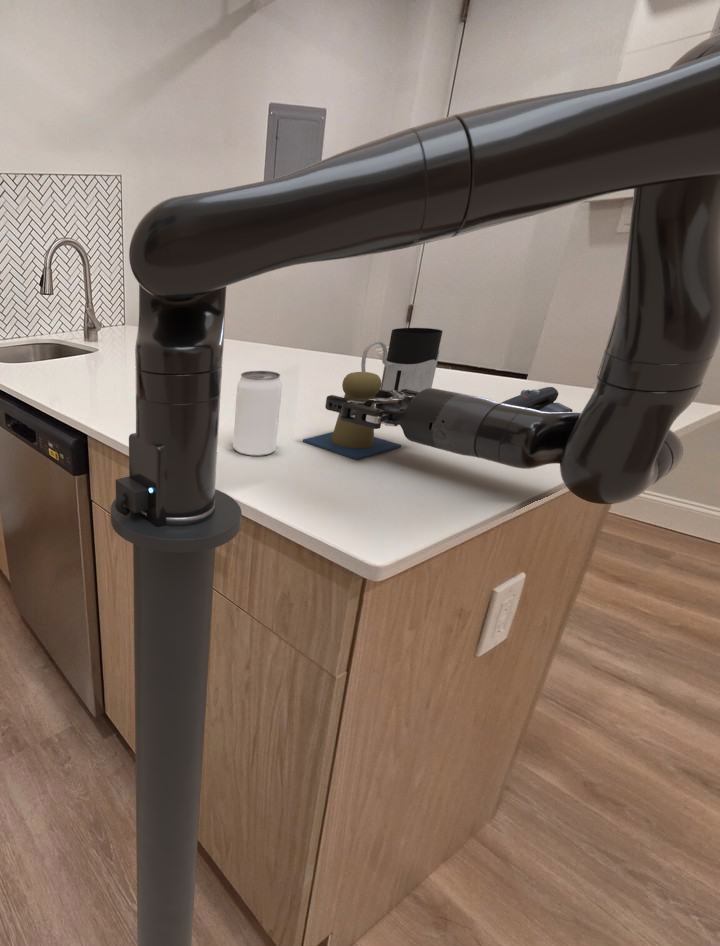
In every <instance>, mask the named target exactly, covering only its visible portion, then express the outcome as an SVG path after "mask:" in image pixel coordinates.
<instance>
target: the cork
mask: <svg viewBox="0 0 720 946" xmlns="http://www.w3.org/2000/svg"><path fill="white" fill-rule="evenodd" d="M381 382H382V378H380V375H378V374H377V373H373V372H368V371H366V372H362V371H355V372H350V373H347V374H346V375H345V377H343V380H342V383H341V384H342V385H341V387H342V391H343V393H344V396H343V398H348V399H354V400H366V399H367V398H368V397H373V398H375V395H376V394H377V393H378V392H379V390H380V388H381ZM362 406H363V405H362ZM375 406H376V404H375V403H373V404H372V405H371V408H375ZM355 412H356V411H355ZM340 416H341V413H338V416H337V419H336V422H335V426H334V429H333V431H332V432H333V435H332V439H331V442H332V443H334V444H336V445H338V446H342V447H346V448H356V449H361V448H369V447H371V446H373V444H374V437H375V429H373V428H370V427H366V426H362V425H358V424H354V423H350V422H347V421H343V420H340Z"/></svg>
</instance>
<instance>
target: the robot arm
mask: <svg viewBox="0 0 720 946" xmlns="http://www.w3.org/2000/svg"><path fill="white" fill-rule="evenodd" d="M628 190H633V197H632V205H631V212H630V223H629V231H628V240H627V247H626V255H625V261H624V262H625V263H624V269H623V276H622V283H621V287H620V292H619V298H618V303H617V307H616V311H615V314H614V318H613V322H612V325H611V329H610V332H609V335H608V339H607V342H606V345H605V348H604V352H603V356H602V359H601V361H600V365H599V369H598V372H597V375H596V379H595V383H594V384H595V385H594V387H593V391H592V393H591V395H590V398H589V399H588V401H587V402H586V405H585V406H584V408H583V409H582V411H581V412H580V411H572V412H544V411H539V410H535V409H531V408H525V407H520V406H515V405H509V404H504V403H501V402H499V401H496V400H493V399H490V398H487V397H482V396H477V395H471V394H466V393H462V392H461V393H460V392H456V391H450V390H444V389H439V388H433V387H432V388H428V389H425V390H422V391H421V392H417V391H412V390H408V389H402V390H401V391H396V390H390V391H386V390H381V389H380V390H379V392H378V393H377V394H376V395H375V398H373V397H368V398H367V399H366V400H354V399H348V398H344V396H339V395H334V394H330V395H327V396H326V399H325V405H324V406H325V409H326V410H327V411H330V412H335V413H338V414H339V413H341V416H340V420H343V421H347V422H350V423H354V424H358V425H362V426H366V427H370V428H373V429H374V430H379V429H381V426H382V425H384V426H387V427H398V426H400V428H401V429H402V433H403V435H404V436H405V438H406V439H407V440H408V441H410V442H413V443H416V444H420V445H424V446H427V447H431V448H434V449H438V450H441V451H446V452H449V453H452V454H456V455H460V456H465V457H471V458H477V459H482V460H485V461H489V462H494V463H497V464H500V465H504V466H508V467H512V468H516V469H523V470H531V469H537V468H539V467H543V466H547V465H555V464H556V465H559V472H560V477H561V480H562V482H563V484H564V485H565V487H566V488H567V490H568V491H570V492H571V493H572V494H573V495H575V496H576V497H578V498H579V499H581V500H583V501H586V502H589V503H593V504H598V505H614V504H620V503H624V502H627V501H630V500H632V499H635V498H637V497H639V496H641V494H643V493H645V492H646V491H647V490H648V489H650V488H651V487H652V486H653V485H655V484H656V483H658V482H659V481H661V480H662V479H663V478H665V477H666V476H667V475H668V474H670V473H671V472H672V471H674V469H676V467H677V466H678V465H679V464H680V462H681V460H682V458H683V456H684V447H683V442H682V441H681V439H680V437H679V436H678V435H677V434H676V432H674V431H672V430H671V427H672V425H673V424H674V423H675V421H676V420H677V419H678V418H679V416H680V415H681V414H683V412H685V411H686V410H687V409H688V408H689V406H691V404H692V403H693V402H694V400H695V398H696V397H697V395H698V394H699V391H700V390H701V388H702V385H703V383H704V381H705V378H706V376H707V374H708V371H709V369H710V366H711V364H712V361H713V359H714V357H715V353H716V352H717V349H718V346H719V345H720V32H718V33H716V34H714V35H712V36H711V37H708V38H707V39H704V40H702V41H701V42H699V43H698V44H696V45H695V46H694V47H692V48H690V49H689V50H688V51H687V52H685V53H684V54H683V55H682V56H681V57H680V58H678V59H677V60H676V61H675V62H674V63H673V64H672V65H671V66H670V67H669V68H668V69H665V70H662V71H658V72H655V73H652V74H648V75H646V76H643V77H639V78H635V79H631V80H630V79H629V80H627V81H623V82H618V83H613V84H608V85H603V86H596V87H590V88H584V89H577V90H571V91H565V92H559V93H558V92H557V93H553V94H552V93H551V94H546V95H540V96H534V97H528V98H524V99H517V100H513V101H508V102H503V103H499V104H493V105H490V106H485V107H481V108H476V109H472V110H467V111H463V112H460V113H456V114H453V115H449V116H446V117H443V118H439V119H436V120H433V121H430V122H425V123H423V124H420V125H419V124H418V125H415V126H412V127H410V128H406V129H403V130H400V131H397V132H394V133H392V134H389V135H386V136H383V137H381V138H378V139H377V138H376V139H374V140H371V141H368V142H365V143H362V144H360V145H357V146H355V147H352V148H349V149H347V150H344V151H341V152H339V153H336V154H334V155H331V156H329V157H327V158H324V159H322V160H319V161H318V162H314V163H312V164H310V165H308V166H306V167H303V168H300V169H297V170H295V171H292V172H290V173H288V174H284V175H281V176H278V177H274V178H270V179H266V180H262V181H257V182H252V183H248V184H243V185H238V186H233V187H228V188H222V189H217V190H211V191H204V192H199V193H192V194H184V195H177V196H173V197H170V198H166V199H165V200H162V201H160V202H158V203H157V204H155V205H154V206H152V207H151V208H150V209H149V210H148V211H147V212H146V213H145V214H144V215H143V217H142V218H141V219H140V221H139V222H138V223H137V225H136V227H135V229H134V231H133V234H132V236H131V239H130V243H129V251H128V260H129V261H128V262H129V266H130V270H131V272H132V274H133V276H134V279H135V281H136V282H137V283H138V325H137V334H136V339H135V348H134V353H135V354H134V355H135V356H134V357H135V359H134V361H135V432H133V433H130V434H129V436H128V476H124V477H121V478H117V479H115V499H116V502H115V507H116V510H117V511H118V512H120V513H122V514H123V515H128V514H129V512H130V510H131V511H133V512H134V513H138V514H139V515H140V516H141V517H143V518H144V519H146V520H147V521H149V522H150V523H151V524H153V525H154V526H156V527H162V526H166V525H170V526H186V525H193V524H197V523H201V522H203V521H206V520H207V519H209V518H210V517H211V516H212V515H213V514H214V512H215V500H214V497H215V489H216V479H217V463H218V462H217V461H218V446H219V445H218V444H219V429H220V428H219V427H220V409H221V394H222V393H221V392H222V379H223V378H222V377H223V376H222V375H223V360H224V359H223V356H224V347H225V345H224V344H225V323H226V322H225V321H226V320H225V319H226V301H227V287H228V286H231V285H233V284H237V283H239V282H242V281H245V280H248V279H251V278H254V277H257V276H261V275H264V274H267V273H270V272H273V271H276V270H280V269H285V268H288V267H293V266H297V265H298V266H299V265H304V264H309V263H310V264H311V263H312V264H313V263H318V262H329V261H337V260H344V259H352V258H359V257H364V256H371V255H376V254H377V255H378V254H381V253H387V252H388V253H389V252H392V251H393V252H394V251H398V250H403V249H407V248H412V247H417V246H420V245H425V244H430V243H434V242H437V241H441V240H446V239H450V238H454V237H458V236H461V235H466V234H469V233H473V232H477V231H480V230H484V229H488V228H491V227H495V226H499V225H503V224H507V223H510V222H514V221H515V222H516V221H518V220H522V219H525V218H529V217H533V216H537V215H541V214H544V213H547V212H551V211H554V210H557V209H561V208H564V207H567V206H571V205H574V204H578V203H580V202H585V201H587V200H592V199H596V198H598V197H603V196H605V195H611V194H614V193H620V192H624V191H628ZM373 403H375V408H371V405H372V404H373ZM362 405H363V406H362ZM355 411H356V412H355ZM123 505H125V506H126V507H125V506H123ZM128 508H129V509H130V510H129V509H128Z"/></svg>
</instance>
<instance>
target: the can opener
mask: <svg viewBox="0 0 720 946" xmlns="http://www.w3.org/2000/svg"><path fill="white" fill-rule="evenodd" d="M558 397H559V390H557V389H556V388H555V387H553V386H546V387H543V388H542V387H541V388H539V389H530V390H529V389H522V390H521V391H520V394H519V395H516V396H513V397H511V398H508V399H506V400H503V401H502V402H500V403H504V404H509V405H515V406H520V407H525V408H531V409H535V410H539V411H544V412H574V410H573V409H572V408H570V407H569V406H566V405H564V404H562V403H560V402H556V401H557V399H558Z"/></svg>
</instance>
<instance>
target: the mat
mask: <svg viewBox="0 0 720 946" xmlns="http://www.w3.org/2000/svg"><path fill="white" fill-rule="evenodd" d="M333 432H334V431H330V432H327V433H323V434H319V435H315V436H311V437H308V438H303V439H302V443H305V444H308V445H312V446H314V447H316V448H320V449H322V450H326V451H329V452H332V453H334V454H338V455H340V456H344V457H347V458H350V459H353V460H356V461H359V460H361V459H364V458H369V457H372V456H375V455H378V454H382V453H385V452H388V451H389V452H390V451H392V450H393V451H394V450H396V449H399V448H401V447H402V444H400V443H396V442H393V441H390V440H386V439H383V438H380V437H376V436H374V444H373V446H371V447H369V448H361V449H356V448H346V447H342V446H338V445H336V444H334V443H332V442H331V439H332V435H333Z"/></svg>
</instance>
